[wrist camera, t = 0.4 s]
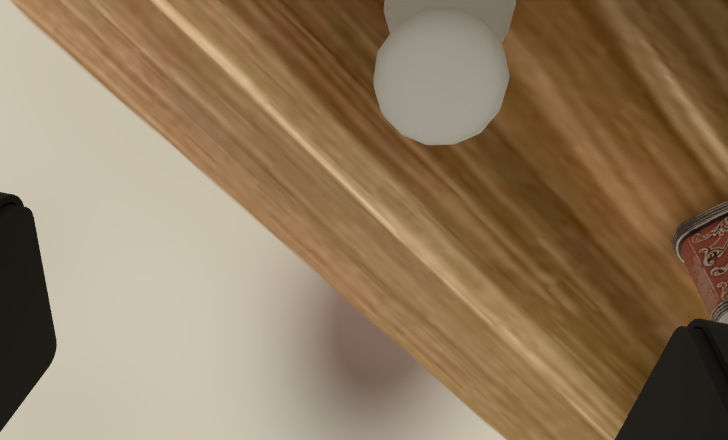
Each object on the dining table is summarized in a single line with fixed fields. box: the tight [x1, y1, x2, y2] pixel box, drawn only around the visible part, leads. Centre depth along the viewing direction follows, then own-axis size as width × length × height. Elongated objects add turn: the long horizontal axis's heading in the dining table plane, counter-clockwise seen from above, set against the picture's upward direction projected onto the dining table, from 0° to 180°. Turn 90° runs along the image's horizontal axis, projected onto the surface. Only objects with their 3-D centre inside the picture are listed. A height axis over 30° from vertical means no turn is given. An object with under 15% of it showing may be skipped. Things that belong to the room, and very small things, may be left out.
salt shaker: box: [373, 0, 516, 145], centre depth 24 cm, size 6×6×13 cm
